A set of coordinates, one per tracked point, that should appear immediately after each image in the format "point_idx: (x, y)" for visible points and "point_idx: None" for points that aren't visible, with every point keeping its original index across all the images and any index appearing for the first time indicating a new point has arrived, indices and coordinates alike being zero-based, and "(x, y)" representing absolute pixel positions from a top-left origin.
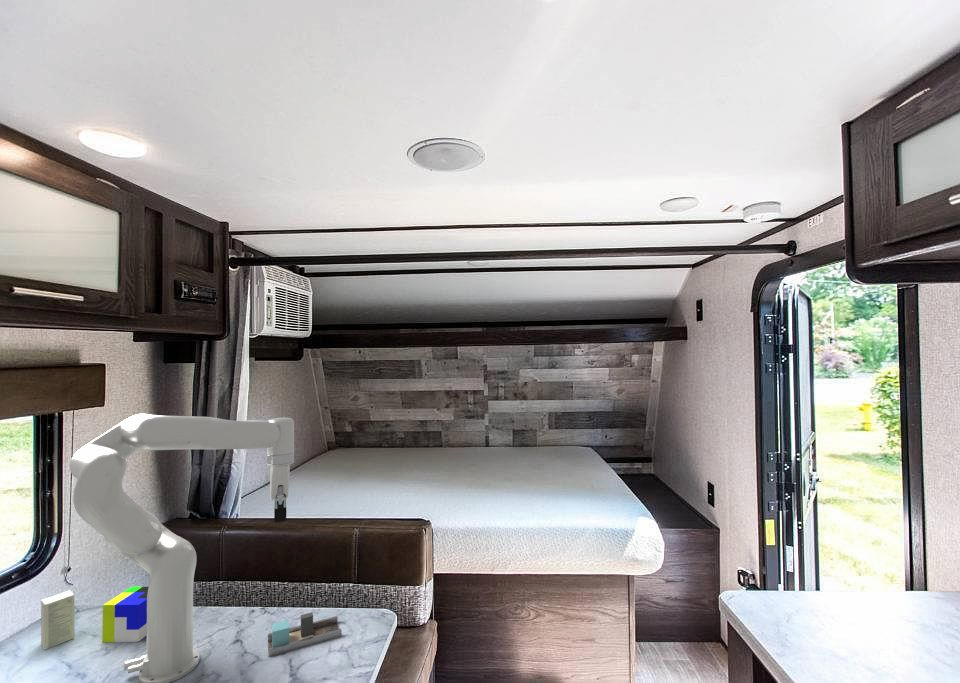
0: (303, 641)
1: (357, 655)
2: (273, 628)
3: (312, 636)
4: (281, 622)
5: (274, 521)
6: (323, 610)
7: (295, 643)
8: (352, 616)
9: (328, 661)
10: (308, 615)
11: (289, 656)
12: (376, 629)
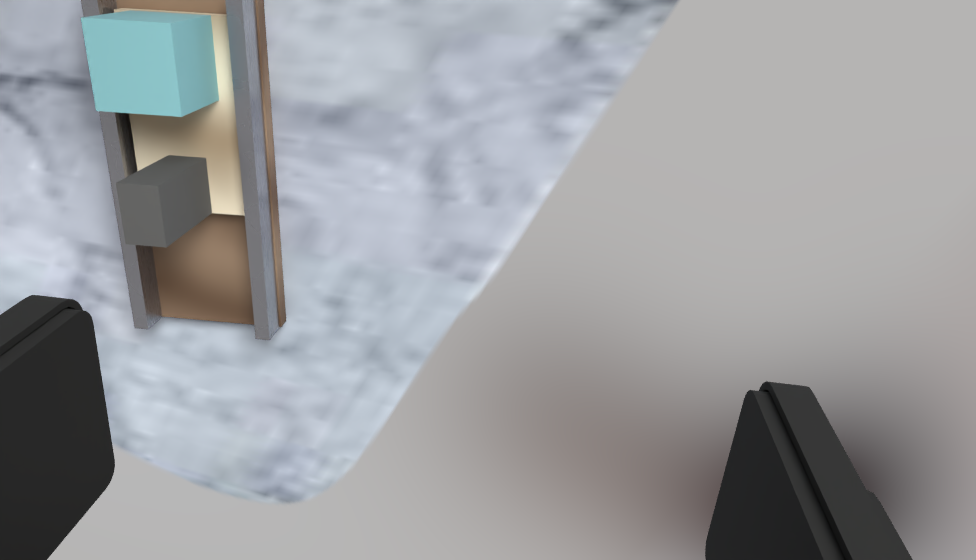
0: (109, 159)
1: None
2: (117, 25)
3: None
4: (169, 76)
5: (27, 298)
6: (448, 293)
7: (104, 122)
8: (323, 391)
9: (16, 229)
10: (138, 223)
11: None
12: (177, 440)
